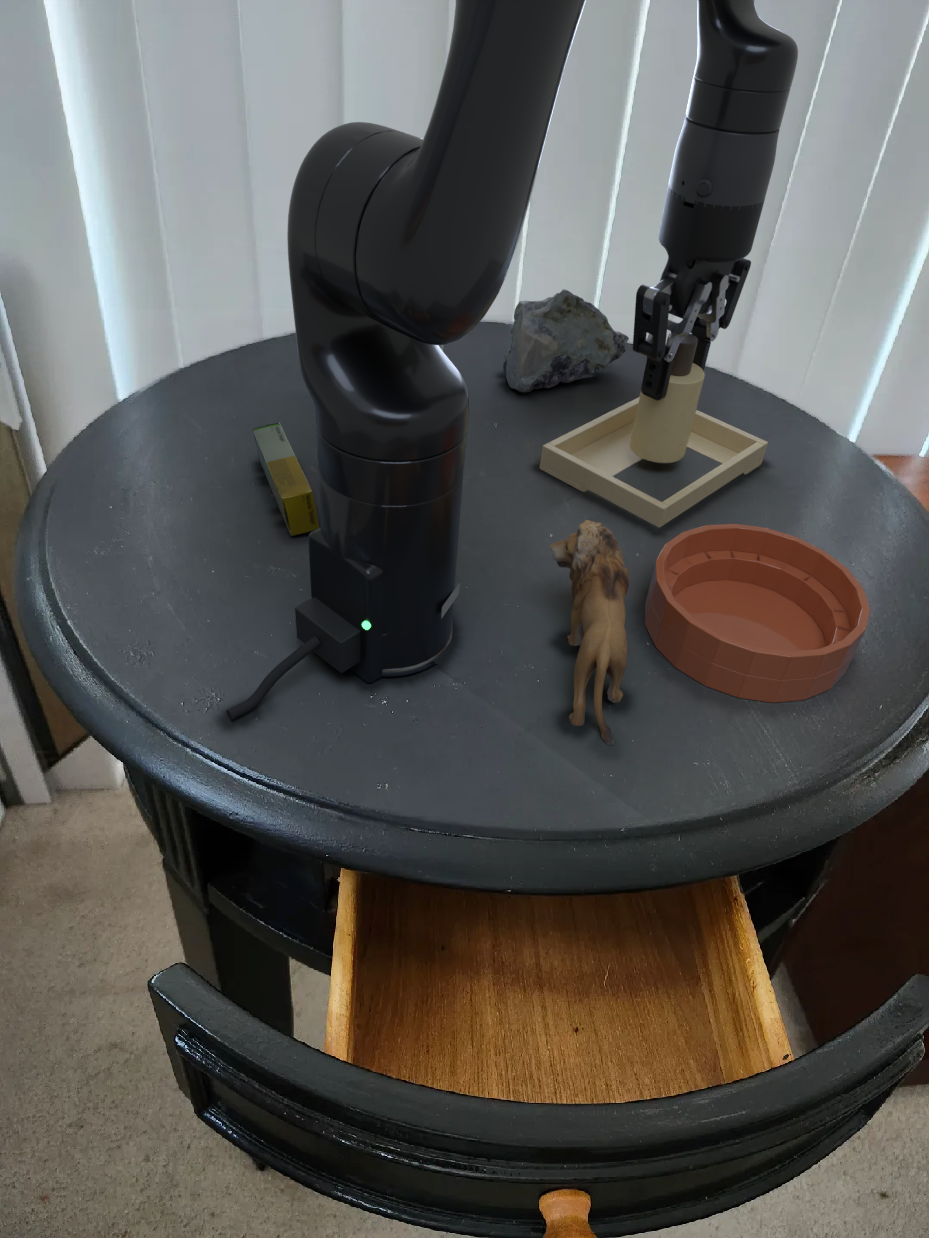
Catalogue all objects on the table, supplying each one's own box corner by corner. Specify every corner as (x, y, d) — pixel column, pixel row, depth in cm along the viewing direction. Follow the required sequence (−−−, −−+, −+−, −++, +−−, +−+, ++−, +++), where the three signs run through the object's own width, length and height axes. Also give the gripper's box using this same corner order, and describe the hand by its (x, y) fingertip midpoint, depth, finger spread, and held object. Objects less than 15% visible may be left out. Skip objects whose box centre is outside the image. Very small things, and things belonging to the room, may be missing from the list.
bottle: (664, 469, 84) (691, 356, 77) (618, 447, 87) (641, 335, 80) (695, 451, 87) (724, 340, 80) (650, 429, 90) (675, 320, 83)
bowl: (781, 742, 62) (804, 689, 59) (603, 629, 70) (614, 578, 66) (880, 640, 71) (904, 590, 68) (711, 551, 78) (726, 501, 75)
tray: (658, 533, 80) (664, 509, 78) (539, 468, 87) (542, 445, 85) (761, 464, 90) (768, 442, 88) (647, 411, 97) (652, 389, 95)
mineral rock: (622, 367, 104) (639, 279, 98) (619, 412, 96) (638, 319, 90) (509, 353, 105) (518, 264, 99) (497, 395, 97) (506, 302, 91)
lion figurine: (536, 607, 71) (551, 509, 65) (604, 606, 72) (625, 509, 66) (572, 752, 60) (594, 650, 54) (651, 749, 61) (681, 649, 55)
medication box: (258, 465, 84) (250, 426, 81) (288, 459, 84) (280, 420, 82) (289, 538, 75) (281, 497, 73) (321, 530, 76) (314, 489, 73)
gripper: (725, 161, 78) (680, 351, 89) (623, 189, 69) (588, 395, 81) (805, 183, 74) (748, 379, 85) (708, 216, 66) (659, 428, 77)
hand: (671, 386), depth 83 cm, fingers closed on bottle, 5 cm apart
